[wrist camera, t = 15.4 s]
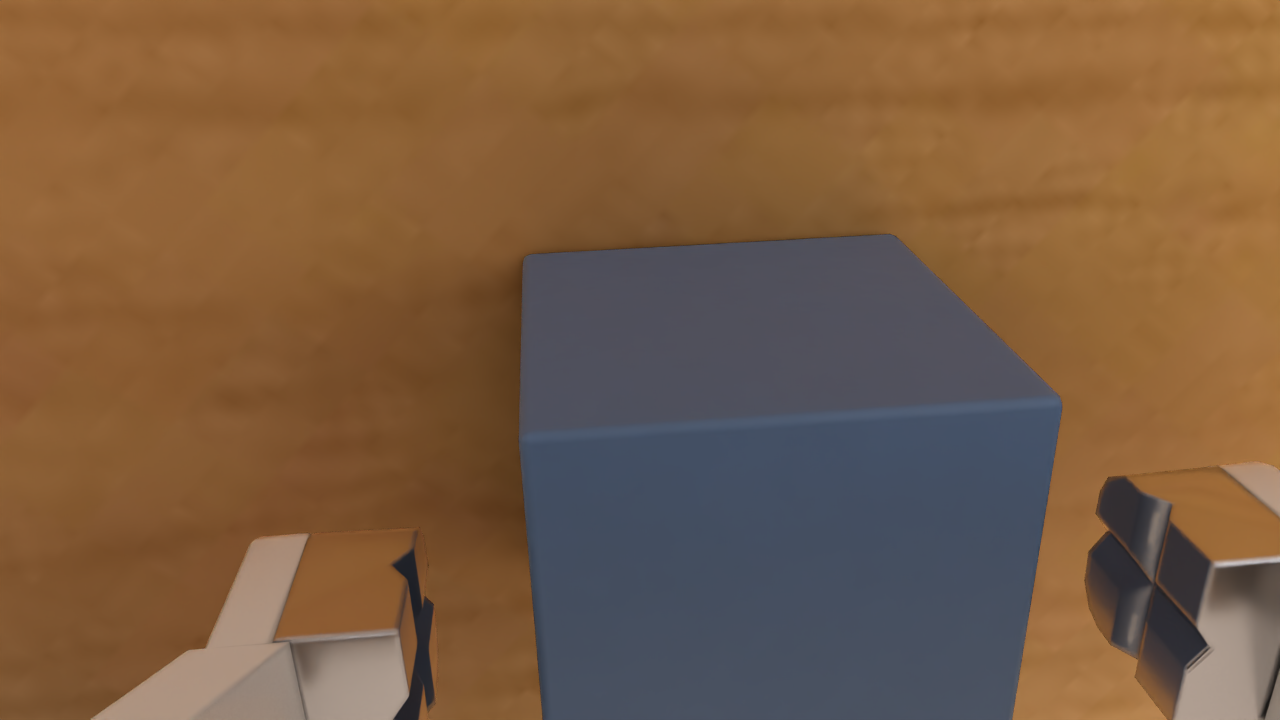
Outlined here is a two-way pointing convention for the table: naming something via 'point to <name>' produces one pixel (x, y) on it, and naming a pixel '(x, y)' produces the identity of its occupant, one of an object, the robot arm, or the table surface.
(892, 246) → the blue block
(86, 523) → the table surface
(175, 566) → the table surface
